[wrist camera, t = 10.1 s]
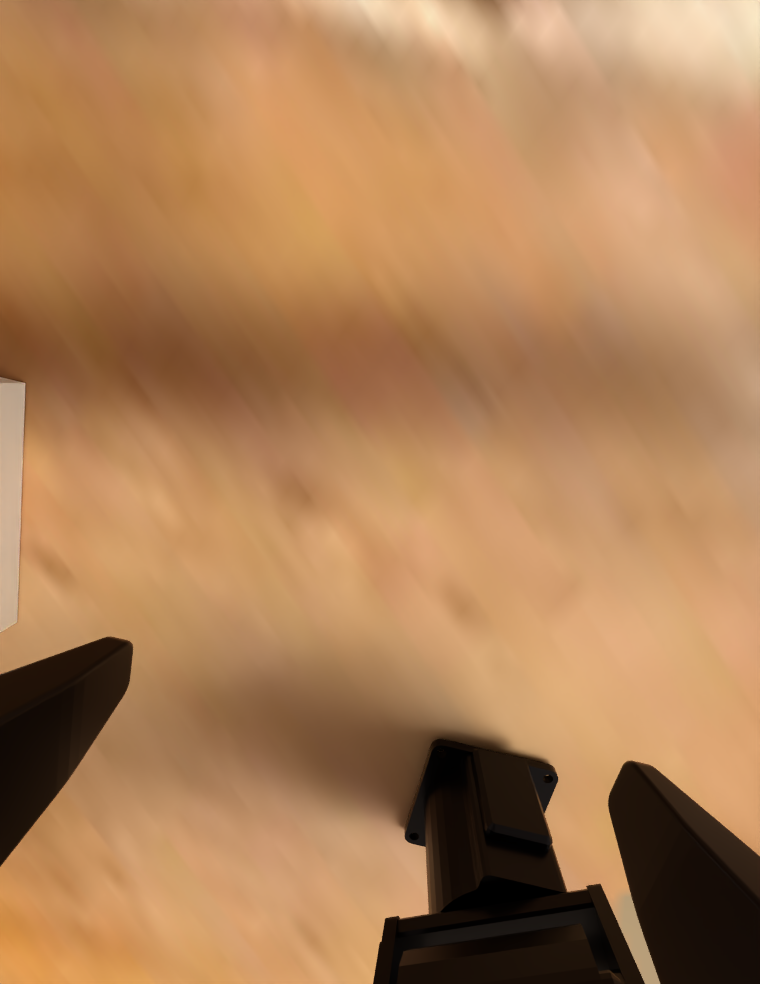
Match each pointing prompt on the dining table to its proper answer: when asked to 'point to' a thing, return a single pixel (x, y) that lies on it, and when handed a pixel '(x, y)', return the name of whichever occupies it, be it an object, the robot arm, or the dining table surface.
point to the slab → (10, 495)
